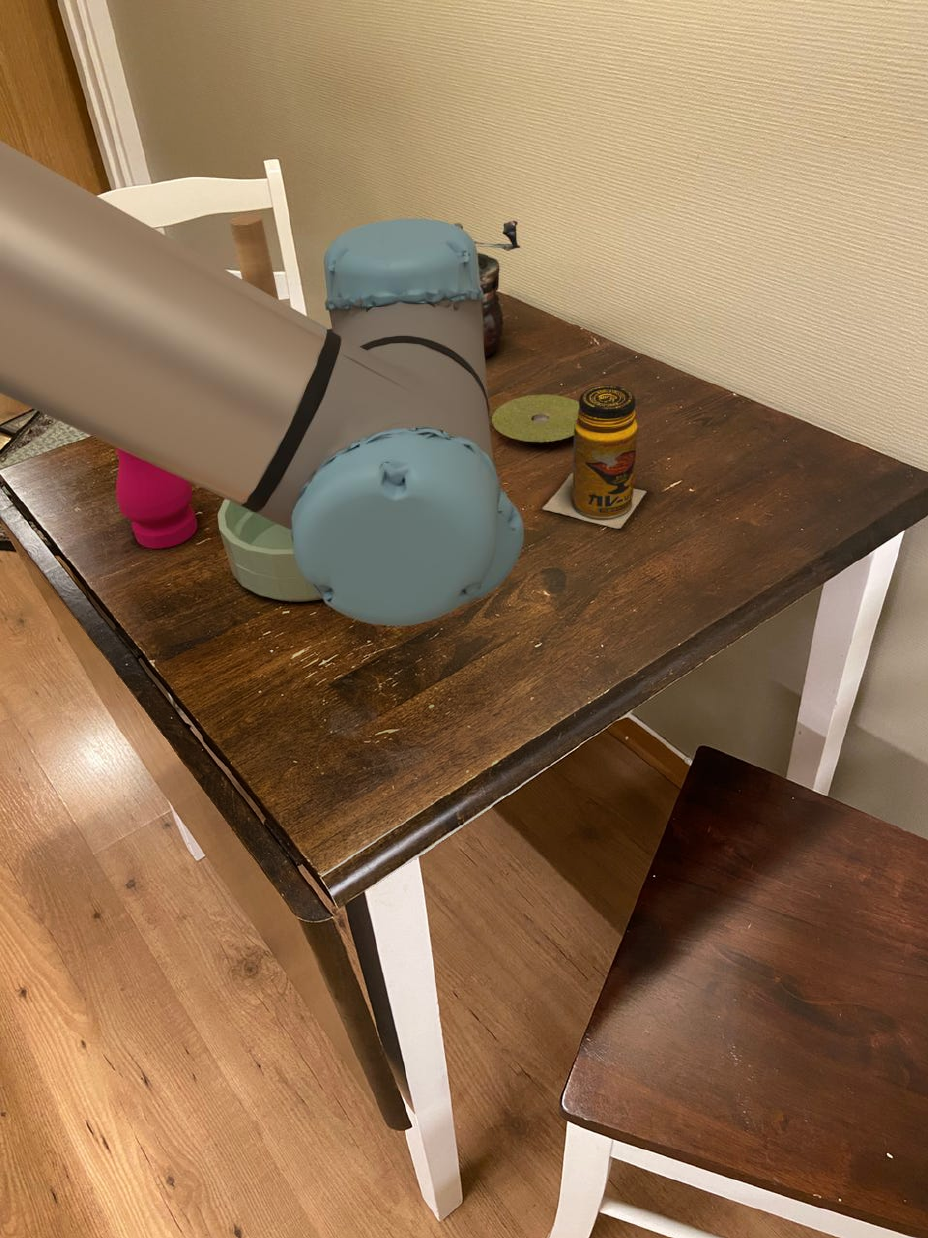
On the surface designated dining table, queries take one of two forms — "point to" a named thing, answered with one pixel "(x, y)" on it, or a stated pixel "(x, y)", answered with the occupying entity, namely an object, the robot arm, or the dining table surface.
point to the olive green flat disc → (537, 418)
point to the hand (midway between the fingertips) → (252, 327)
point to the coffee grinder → (492, 289)
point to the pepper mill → (154, 502)
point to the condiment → (602, 460)
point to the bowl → (262, 555)
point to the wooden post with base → (253, 252)
